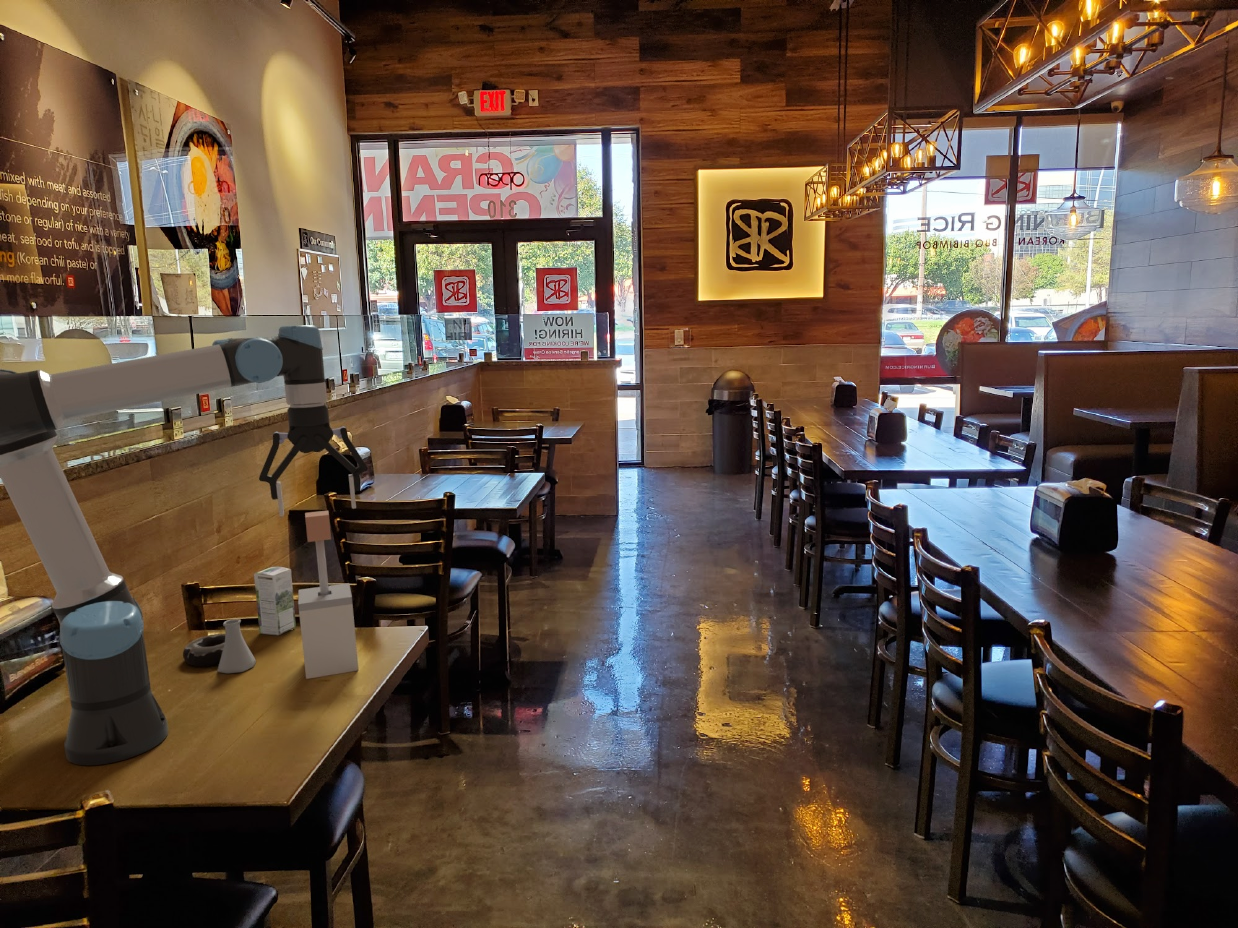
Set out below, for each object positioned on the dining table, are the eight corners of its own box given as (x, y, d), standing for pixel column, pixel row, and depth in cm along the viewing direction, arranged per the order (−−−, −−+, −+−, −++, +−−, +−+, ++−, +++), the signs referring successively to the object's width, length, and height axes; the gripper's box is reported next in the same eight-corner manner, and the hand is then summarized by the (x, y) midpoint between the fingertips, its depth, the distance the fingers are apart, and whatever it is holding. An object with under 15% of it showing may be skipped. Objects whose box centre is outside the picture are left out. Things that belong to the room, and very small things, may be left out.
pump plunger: (338, 611, 172) (328, 514, 169) (315, 614, 171) (305, 517, 167) (337, 604, 176) (328, 510, 173) (314, 608, 175) (305, 512, 171)
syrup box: (277, 625, 201) (270, 565, 199) (297, 627, 199) (291, 567, 196) (259, 633, 196) (252, 572, 193) (279, 636, 194) (272, 574, 191)
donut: (214, 645, 190) (212, 628, 189) (256, 651, 186) (254, 633, 185) (171, 666, 179) (168, 648, 178) (215, 672, 175) (212, 653, 174)
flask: (262, 660, 180) (257, 615, 178) (244, 674, 172) (239, 627, 171) (230, 660, 180) (224, 615, 179) (210, 674, 173) (205, 627, 172)
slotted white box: (358, 670, 173) (351, 596, 170) (306, 678, 169) (298, 604, 167) (355, 652, 182) (349, 583, 179) (305, 660, 178) (298, 589, 176)
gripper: (371, 399, 174) (381, 500, 178) (239, 408, 166) (251, 514, 170) (374, 401, 167) (384, 507, 171) (236, 411, 159) (249, 522, 163)
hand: (318, 511), depth 170 cm, fingers open, 13 cm apart
